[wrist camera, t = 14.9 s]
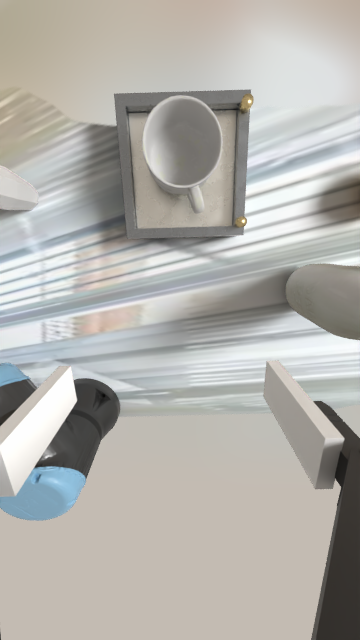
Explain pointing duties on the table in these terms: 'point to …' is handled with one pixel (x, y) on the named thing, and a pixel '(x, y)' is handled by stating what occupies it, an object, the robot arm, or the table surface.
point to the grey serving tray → (218, 191)
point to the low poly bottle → (16, 192)
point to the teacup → (182, 146)
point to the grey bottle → (327, 297)
